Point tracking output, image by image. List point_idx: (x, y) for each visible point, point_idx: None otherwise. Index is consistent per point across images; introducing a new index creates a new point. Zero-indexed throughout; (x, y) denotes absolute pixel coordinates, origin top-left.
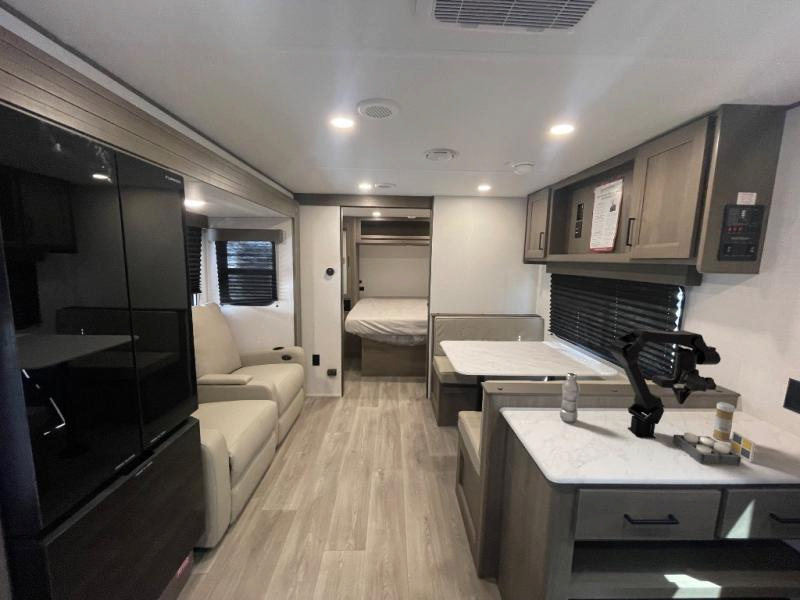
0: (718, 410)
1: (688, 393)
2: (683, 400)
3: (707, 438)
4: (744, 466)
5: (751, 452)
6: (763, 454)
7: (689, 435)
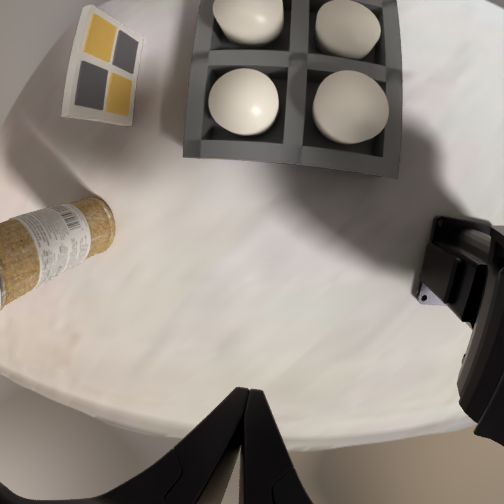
0: (6, 278)
1: (153, 499)
2: (231, 419)
3: (228, 113)
4: (195, 9)
5: (119, 24)
6: (49, 119)
7: (366, 104)
